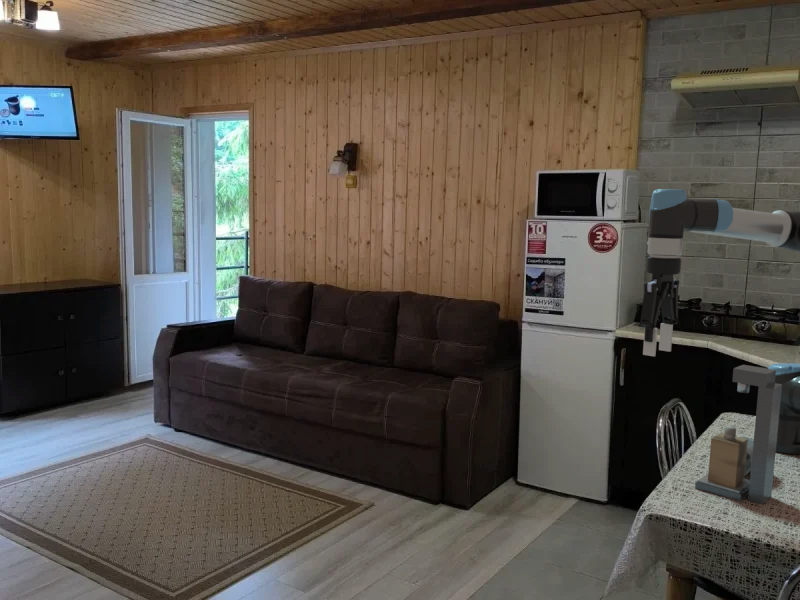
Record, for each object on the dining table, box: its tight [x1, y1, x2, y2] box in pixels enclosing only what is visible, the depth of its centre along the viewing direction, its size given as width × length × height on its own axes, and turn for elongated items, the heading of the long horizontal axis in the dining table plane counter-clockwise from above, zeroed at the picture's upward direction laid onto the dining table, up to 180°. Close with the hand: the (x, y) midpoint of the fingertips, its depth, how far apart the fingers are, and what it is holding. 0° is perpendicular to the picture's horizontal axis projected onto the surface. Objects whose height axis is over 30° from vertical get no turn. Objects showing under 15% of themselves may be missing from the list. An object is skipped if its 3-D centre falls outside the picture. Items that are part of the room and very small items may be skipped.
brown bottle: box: [707, 426, 748, 488], centre depth 163 cm, size 6×6×12 cm
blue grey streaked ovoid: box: [740, 436, 754, 477], centre depth 175 cm, size 14×10×10 cm
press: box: [694, 364, 782, 505], centre depth 161 cm, size 10×14×29 cm
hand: (657, 352), depth 167 cm, fingers open, 8 cm apart
